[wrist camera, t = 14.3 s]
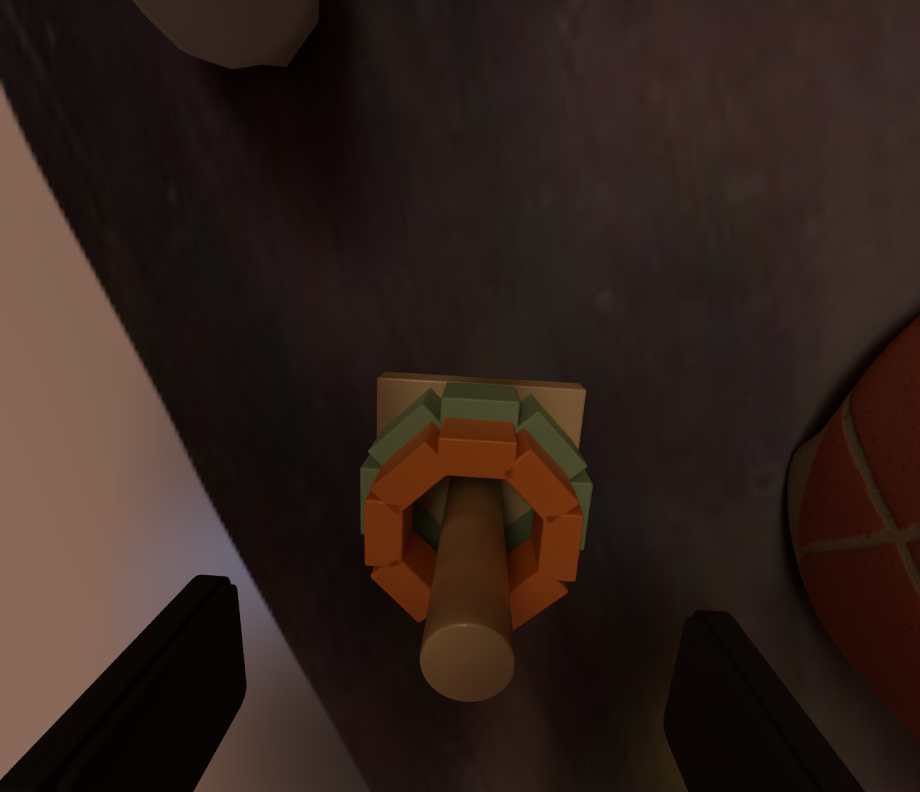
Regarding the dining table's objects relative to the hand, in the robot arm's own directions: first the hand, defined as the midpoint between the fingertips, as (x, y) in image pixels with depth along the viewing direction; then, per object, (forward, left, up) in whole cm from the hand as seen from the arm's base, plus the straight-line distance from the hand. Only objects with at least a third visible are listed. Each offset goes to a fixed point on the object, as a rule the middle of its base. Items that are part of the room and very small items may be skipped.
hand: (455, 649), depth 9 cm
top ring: (0, 0, -6) cm, 6 cm away
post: (0, 0, -10) cm, 10 cm away
